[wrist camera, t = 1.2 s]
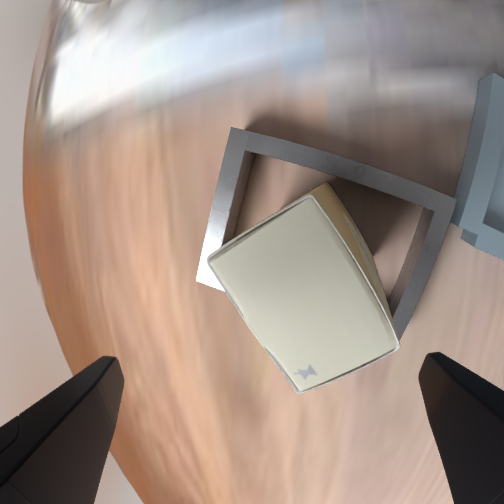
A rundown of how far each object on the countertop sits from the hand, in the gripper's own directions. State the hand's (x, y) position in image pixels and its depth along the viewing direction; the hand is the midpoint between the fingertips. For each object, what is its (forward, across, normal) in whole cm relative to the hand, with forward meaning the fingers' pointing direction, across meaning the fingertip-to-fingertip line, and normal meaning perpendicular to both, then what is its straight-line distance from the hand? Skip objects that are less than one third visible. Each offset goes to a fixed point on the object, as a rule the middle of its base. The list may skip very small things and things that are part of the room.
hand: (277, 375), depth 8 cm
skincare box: (+14, -4, +1) cm, 15 cm away
